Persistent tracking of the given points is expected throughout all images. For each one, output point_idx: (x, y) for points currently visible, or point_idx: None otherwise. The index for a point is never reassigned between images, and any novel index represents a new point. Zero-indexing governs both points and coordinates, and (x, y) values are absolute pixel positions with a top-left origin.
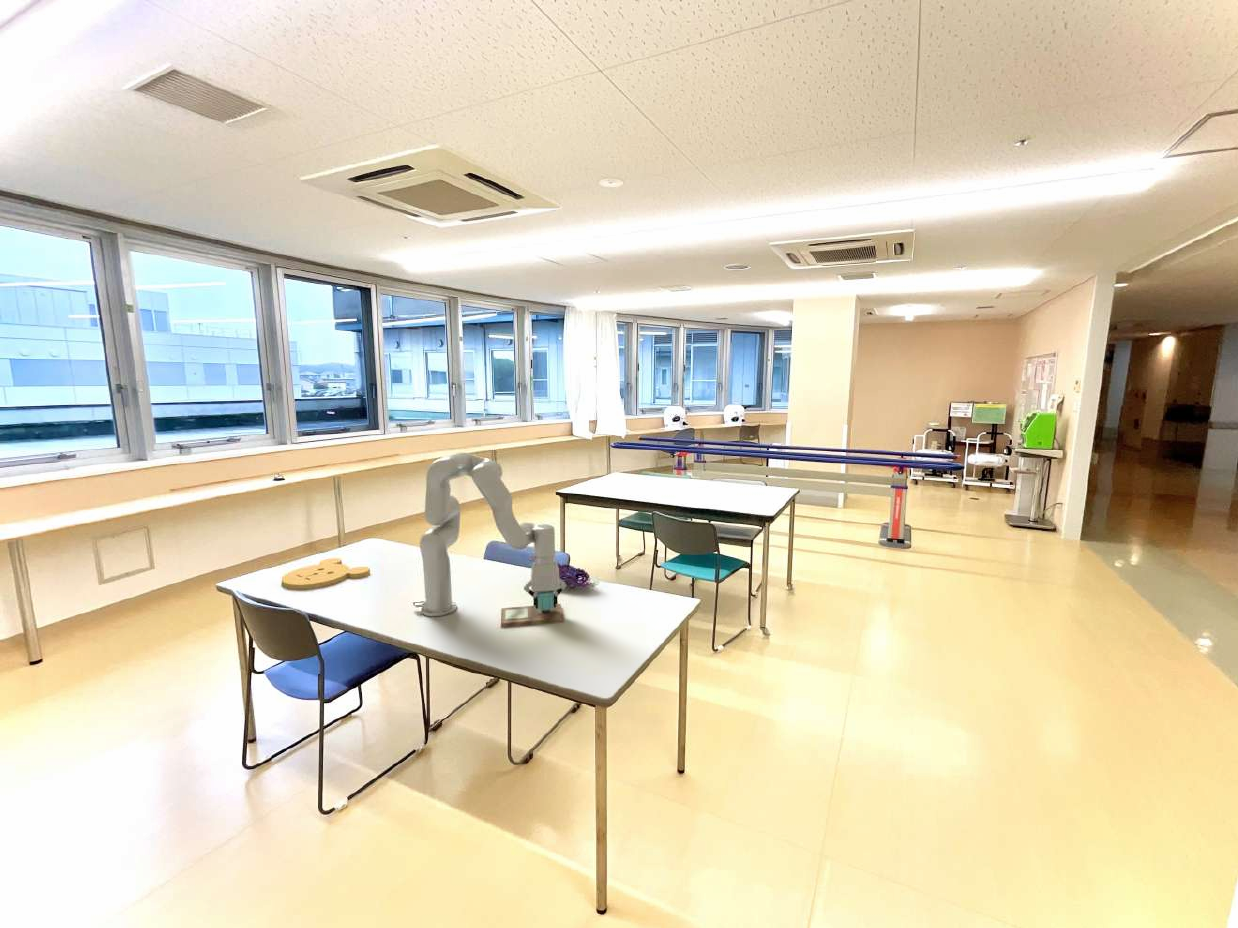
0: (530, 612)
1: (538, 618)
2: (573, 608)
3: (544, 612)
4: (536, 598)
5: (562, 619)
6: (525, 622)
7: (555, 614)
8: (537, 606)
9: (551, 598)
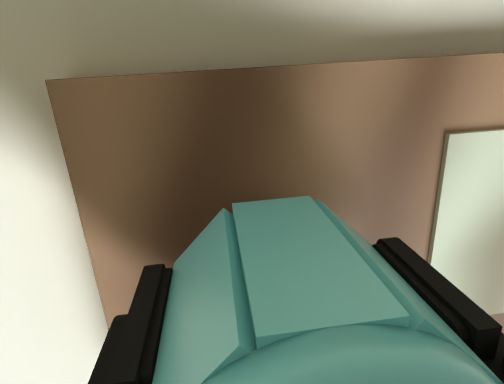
0: None
1: (345, 108)
2: (14, 359)
3: None
4: (485, 328)
5: (69, 79)
6: (474, 54)
7: (160, 191)
8: (386, 251)
9: (195, 334)
